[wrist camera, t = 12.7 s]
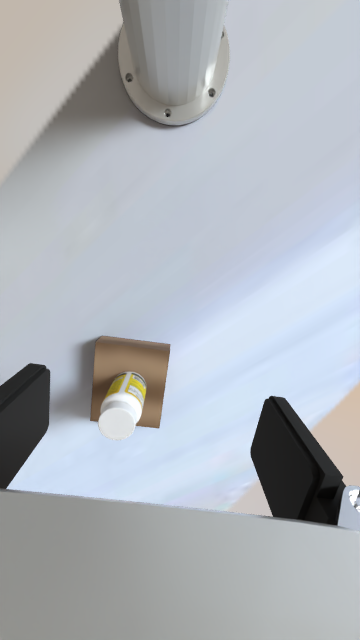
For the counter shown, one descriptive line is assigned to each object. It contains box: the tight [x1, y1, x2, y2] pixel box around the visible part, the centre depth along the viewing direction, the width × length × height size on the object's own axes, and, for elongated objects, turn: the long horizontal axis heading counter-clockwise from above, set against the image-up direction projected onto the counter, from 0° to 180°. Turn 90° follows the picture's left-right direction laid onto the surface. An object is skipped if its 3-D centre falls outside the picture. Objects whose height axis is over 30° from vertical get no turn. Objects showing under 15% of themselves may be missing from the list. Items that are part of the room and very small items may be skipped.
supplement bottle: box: [98, 372, 147, 440], centre depth 30 cm, size 5×5×8 cm
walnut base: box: [90, 336, 170, 428], centre depth 36 cm, size 12×10×3 cm
